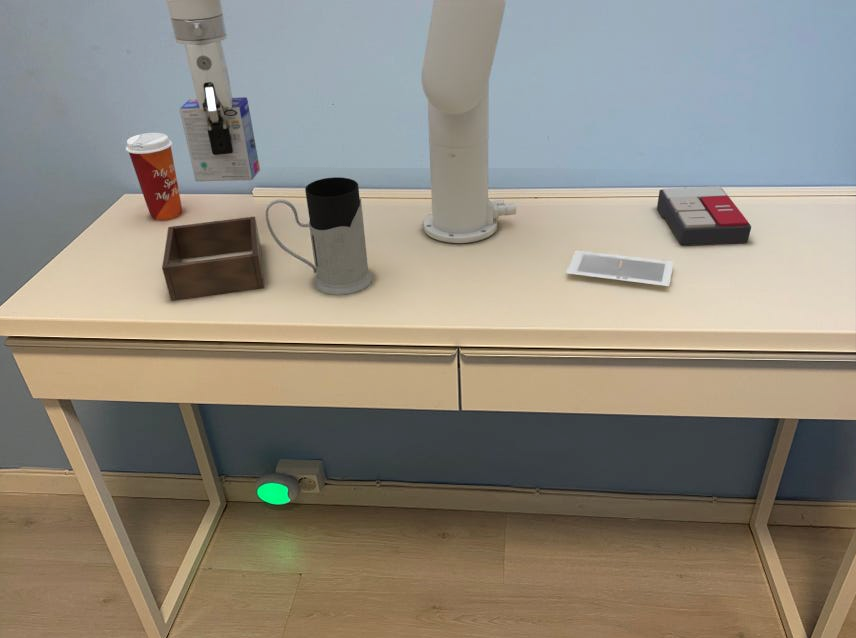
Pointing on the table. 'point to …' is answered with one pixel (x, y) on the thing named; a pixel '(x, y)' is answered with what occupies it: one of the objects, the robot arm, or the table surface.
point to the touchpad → (621, 268)
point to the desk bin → (212, 272)
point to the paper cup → (156, 174)
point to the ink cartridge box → (242, 138)
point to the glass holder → (334, 235)
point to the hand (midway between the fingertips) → (222, 145)
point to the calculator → (703, 216)
